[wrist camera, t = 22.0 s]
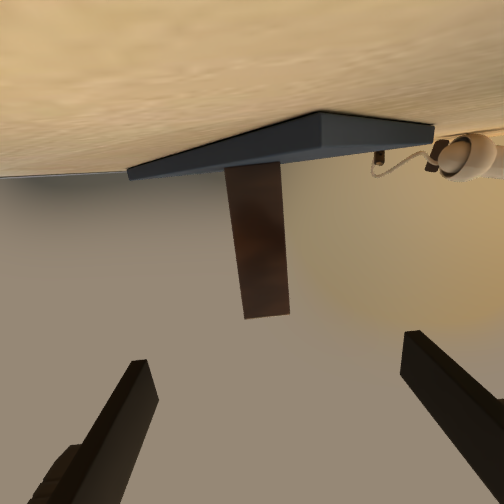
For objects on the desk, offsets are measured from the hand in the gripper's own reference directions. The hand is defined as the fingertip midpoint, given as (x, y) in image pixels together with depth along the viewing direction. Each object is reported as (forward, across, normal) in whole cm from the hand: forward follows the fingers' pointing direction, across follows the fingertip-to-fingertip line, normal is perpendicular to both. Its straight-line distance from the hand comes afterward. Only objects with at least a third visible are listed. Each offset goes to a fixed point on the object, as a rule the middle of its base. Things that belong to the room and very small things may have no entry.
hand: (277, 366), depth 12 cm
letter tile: (+9, 0, +10) cm, 14 cm away
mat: (+9, 0, +11) cm, 15 cm away
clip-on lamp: (+22, +24, +11) cm, 35 cm away
